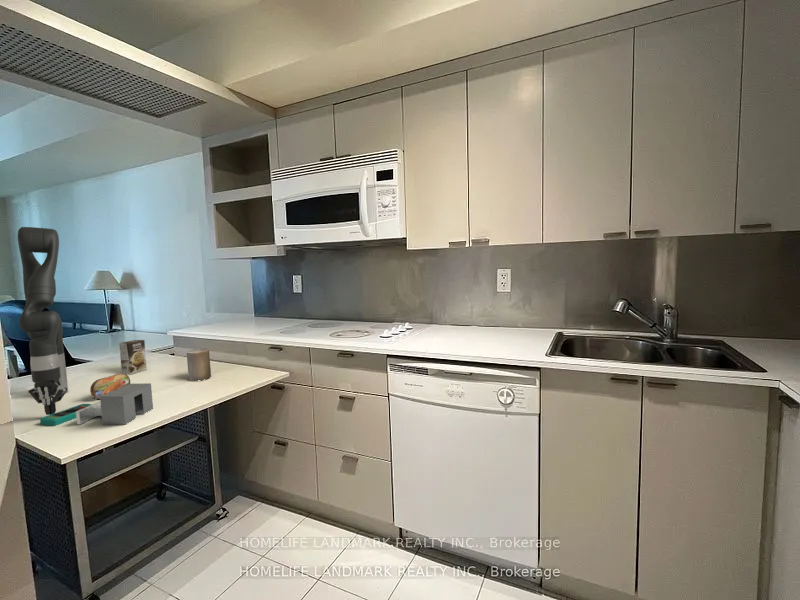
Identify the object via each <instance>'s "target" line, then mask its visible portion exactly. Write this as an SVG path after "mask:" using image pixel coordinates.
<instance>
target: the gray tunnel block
mask: <svg viewBox="0 0 800 600" xmlns="http://www.w3.org/2000/svg"><path fill="white" fill-rule="evenodd" d="M152 392H153V391H152V383H147V382H146V383H143V382H142V383H130V384H128V385H126V386H123V387H121V388H119V389H116V390H114V391H112V392H109V393H107V394H105V395H102V396H100V399H99V401H100V403H101V413H102V416H101V421H102V426H120V425H121V426H125V425H128V424H129V422H130V423H131V422H133V421H135V420H136V419H137V415H145V414H144V413H146V412H147V413H149V412H151V411H152V410H151V409H153V410H154V406H153V405H154V403H153V402H154V401H153V394H152ZM150 410H151V411H150ZM148 411H149V412H148ZM147 413H146V414H147ZM135 418H136V419H135ZM134 419H135V420H134ZM132 420H133V421H132ZM127 423H128V424H127Z"/></svg>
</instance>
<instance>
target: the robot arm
mask: <svg viewBox="0 0 800 600" xmlns="http://www.w3.org/2000/svg"><path fill="white" fill-rule="evenodd" d="M17 243H18V244H17V245H18V249H19V253H20V260H21V266H22V278H23V279H22V280H23V281H22V283H23V291H24V293H23V294H24V299H25V306H24V308H23V311H22V313H21V315H20V317H19V320H18V324H19V328H20V329H21V330H22V331H23V332H25V333H27V336H28V338H29V339H30V341H29V345H28V347H29V355H30V373H31V381H32V383H34V387H33V388H31V389H29V390H27V391H28V393H29V394H30V396H31V397H32V398H33V399H34V400H35V402H37V404H42V406H43V408H44V413H45V416H48V415H51V414H54V413H57V412H56V411H57V408H56V403H58V402H60V401H61V400H63V398H64V396H65V394H66V392H67V393H68V392H69V386H68V377H67V367H66V359H65V358H66V357H65V350H64V348H65V347H64V340H63V336H64V335H63V323H62V320H61V319H62V318H61V316H60V314H59V313H58V312H56V311H54V310H45V308H47V307H49V306H51V305H53V304H54V300H55V296H56V295H57V286H56V285H57V284H56V279H55V275H56V271H57V270H56V269H57V265H58V259H59V257H58V256H59V251H60V250H59V249H60V238H59V234H58V231H57V230H56V229H54V228H49V227H48V228H47V227H33V226H21V227H20V228H19V229H18V231H17ZM34 253H38V254H39V253H40V254H46V257H45V260H44V261H43V263H40V262H39V261H38V260H37V258H36V256H35V254H34ZM44 310H45V311H44Z"/></svg>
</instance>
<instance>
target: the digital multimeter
mask: <svg viewBox="0 0 800 600" xmlns="http://www.w3.org/2000/svg"><path fill="white" fill-rule="evenodd" d="M90 405H92V404H91V403H81V404H78V405H75V406H72V407H70V408H66V409H64V410H60V411H58V412H55V413H54V414H51V415H44V416H42V417H41V418H40V419H39V423H40V425H43V426H51V427H52V426H53V427H56V425H57V426H60V425H62V424H64V422H65V423H67V422H69V421H72V419H73V420H75V419H76V411H79V410H81V409H83V408H85V407H88V406H90Z"/></svg>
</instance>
